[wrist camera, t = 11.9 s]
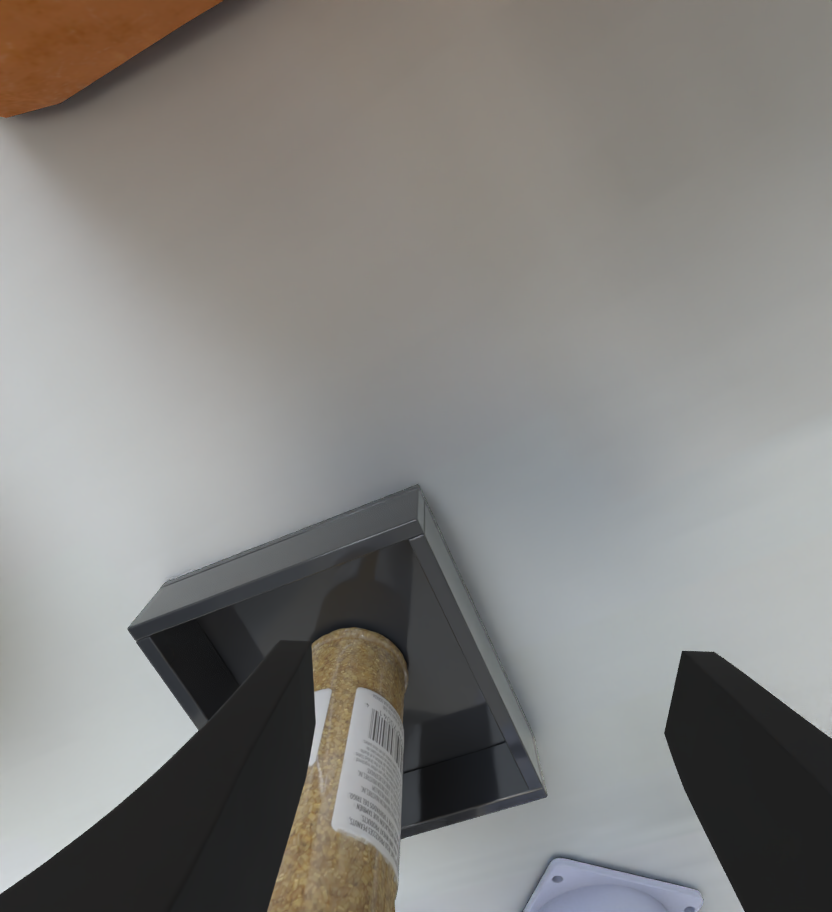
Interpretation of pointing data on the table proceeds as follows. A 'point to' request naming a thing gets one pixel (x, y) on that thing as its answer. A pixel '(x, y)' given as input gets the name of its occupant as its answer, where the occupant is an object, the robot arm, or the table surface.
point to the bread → (76, 43)
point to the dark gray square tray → (372, 608)
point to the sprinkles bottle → (349, 782)
